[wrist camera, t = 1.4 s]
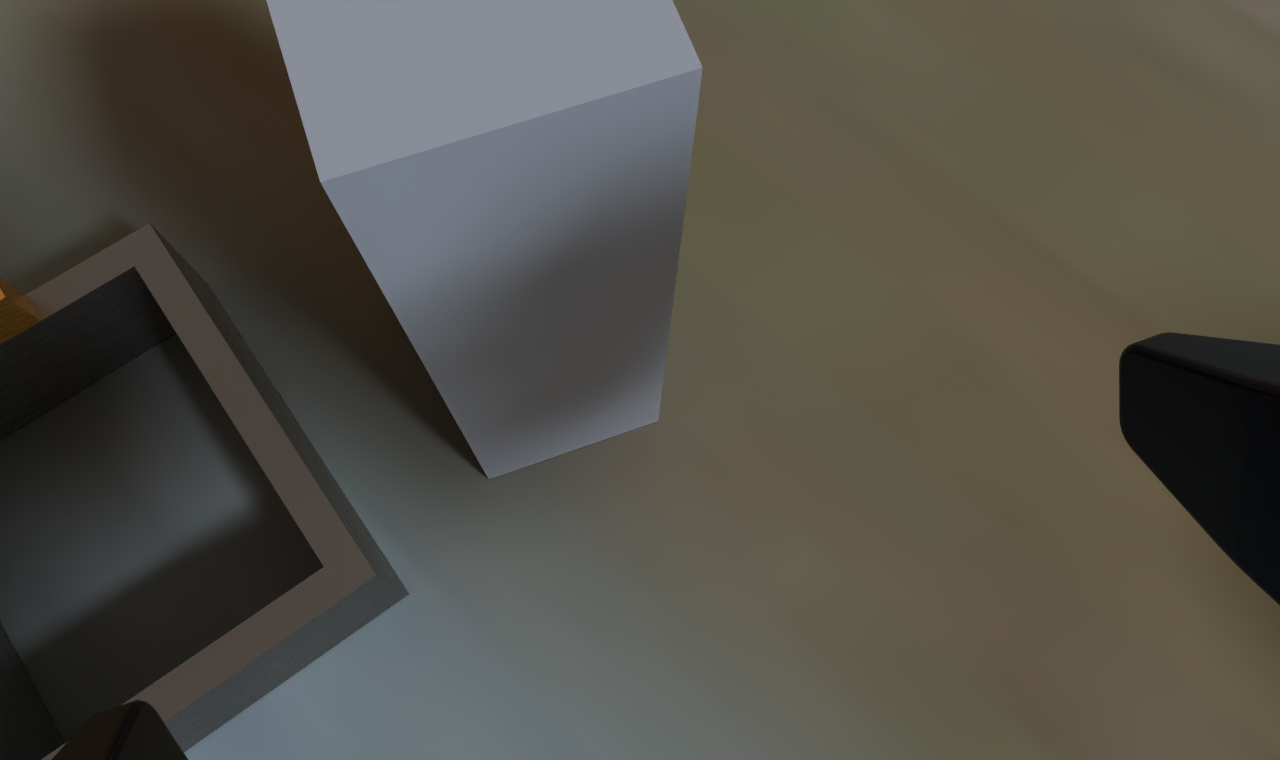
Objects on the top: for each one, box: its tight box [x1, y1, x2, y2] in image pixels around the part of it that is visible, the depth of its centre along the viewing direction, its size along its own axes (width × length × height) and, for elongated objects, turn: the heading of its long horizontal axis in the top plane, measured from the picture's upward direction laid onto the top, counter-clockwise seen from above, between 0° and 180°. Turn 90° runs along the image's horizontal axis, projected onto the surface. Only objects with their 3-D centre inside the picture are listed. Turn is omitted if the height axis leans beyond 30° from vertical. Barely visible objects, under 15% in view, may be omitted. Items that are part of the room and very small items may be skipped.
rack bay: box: [0, 223, 409, 760], centre depth 19 cm, size 9×8×4 cm
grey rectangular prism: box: [266, 0, 703, 479], centre depth 17 cm, size 5×4×13 cm
